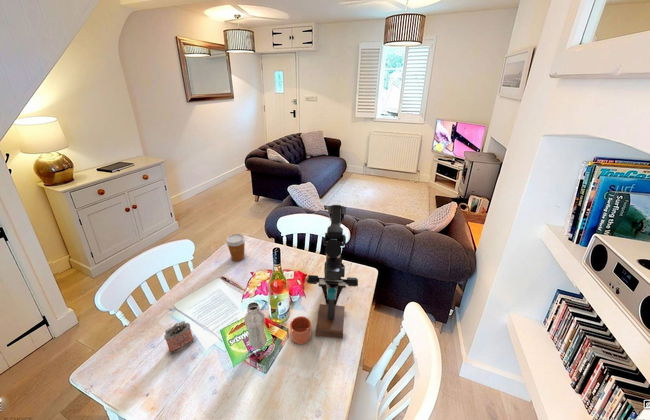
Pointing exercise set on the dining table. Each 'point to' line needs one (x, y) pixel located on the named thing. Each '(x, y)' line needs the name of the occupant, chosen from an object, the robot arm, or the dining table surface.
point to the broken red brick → (178, 337)
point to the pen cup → (300, 330)
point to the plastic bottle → (255, 325)
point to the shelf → (330, 322)
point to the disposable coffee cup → (236, 246)
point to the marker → (331, 303)
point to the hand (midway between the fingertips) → (331, 305)
